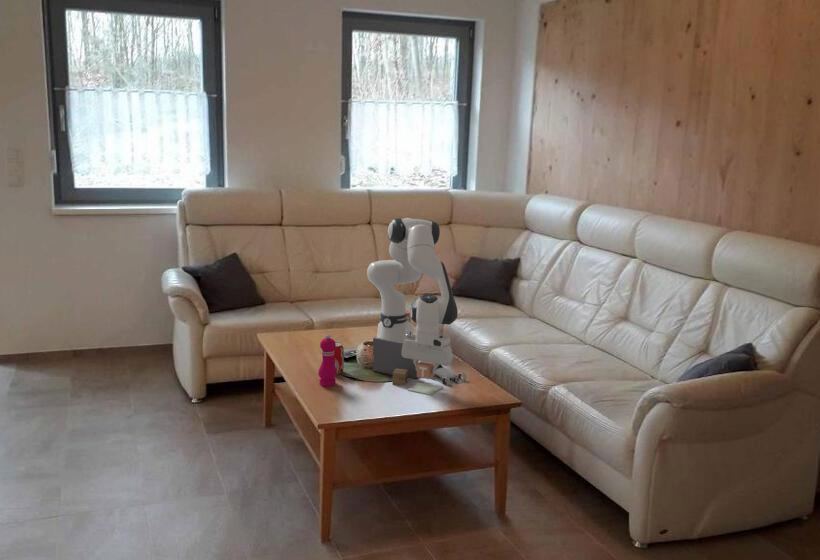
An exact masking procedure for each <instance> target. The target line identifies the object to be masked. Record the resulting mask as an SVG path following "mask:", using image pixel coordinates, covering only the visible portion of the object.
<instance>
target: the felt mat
mask: <svg viewBox="0 0 820 560" xmlns="http://www.w3.org/2000/svg"><path fill="white" fill-rule="evenodd" d="M441 389H443V386H441V385H436V384H431V383H426V382H421V381H418V382H417V383H416V384H414V385H412V386H411V387H409V388H408V389H407V391H408V392H413V393H418V394H423V395H426V396H433V395H434V394H435V393H437V392H438V391H440V390H441Z"/></svg>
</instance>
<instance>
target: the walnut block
mask: <svg viewBox="0 0 820 560" xmlns="http://www.w3.org/2000/svg"><path fill="white" fill-rule="evenodd" d="M408 380H409V378H408V370H405V369H395V370H394V371H393V375H392V382H391V383H392V385H395V386H403V387H405V386H406V385H407V383H408V382H409V381H408Z"/></svg>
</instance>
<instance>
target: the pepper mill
mask: <svg viewBox="0 0 820 560" xmlns="http://www.w3.org/2000/svg"><path fill="white" fill-rule="evenodd" d="M335 342H336V341H335V339H333V338H331V335H330V334H326V335H325V338H322V339H321V340H320V344H319V347H320V349H321V351H320V353H321V355H322V361H321V363H320V366H319V367H318V373H317V374H318V377H319V378H320V379H319V385H320V386H322V387H333V386H335V385H336V382H337V380H336V377H337V375H338V374H337V370H336V367H335V365H334V362H333V355H334V349H335V346H336V343H335Z"/></svg>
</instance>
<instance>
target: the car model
mask: <svg viewBox="0 0 820 560" xmlns="http://www.w3.org/2000/svg"><path fill="white" fill-rule="evenodd" d="M420 362H422V361H418V363H420ZM430 379H431V380H434V381H437V382H438V383H441V384H442V385H443V386H446V387H449V386H451V387H452V386H456V385H457V384H458V385H460V384H463V383H464V382H465V381H466V380H467V375H466V373H464V372H459V373H458V374H456V373H454V372H453V371H452V370H450V369H448V368H446V367H444V365H440V364H439V366H438V367H437V369H436V374H434V376H433V377H431V378H430Z"/></svg>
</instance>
